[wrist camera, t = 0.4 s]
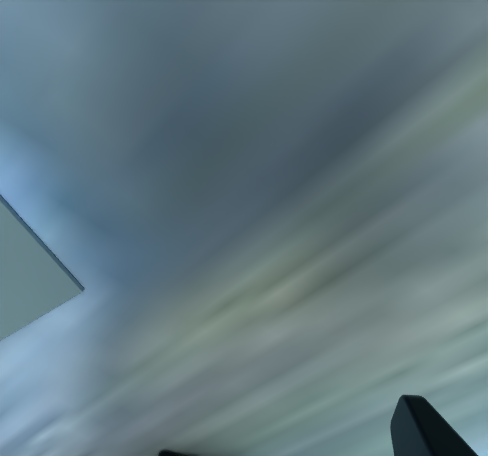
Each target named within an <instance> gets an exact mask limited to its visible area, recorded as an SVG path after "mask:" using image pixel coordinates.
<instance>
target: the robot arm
mask: <svg viewBox="0 0 488 456" xmlns="http://www.w3.org/2000/svg"><path fill="white" fill-rule="evenodd" d="M390 429H391V438H392V444H393V450H394V456H478V455H477V454H476V453H475V452H474V451H473V450H472V449H471V447H470V446H469V445H468V444H467V443H466V442H465V441H464V440H463V439H462V438H461V437H460V436H459V434H458V433H457V432H456V431H455V430H454V429H453V428H452V427H451V426H450V425H449V424H448V423H447V422H446V420H445V419H444V418H443V417H442V416H441V415H440V414H439V413H438V412H437V411H436V410H435V409H434V407H433V406H432V405H431V404H430V403H429V402H428V401H427V400H426V399H425V398H424V397H422V396H419V395H402V396H401V397H400V398H399V401H398V403H397V406H396V409H395V411H394V414H393V417H392V420H391V427H390ZM158 456H178V455H175V454H171V453H168V452H161V453H159V455H158Z"/></svg>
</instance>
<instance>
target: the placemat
mask: <svg viewBox="0 0 488 456" xmlns="http://www.w3.org/2000/svg"><path fill="white" fill-rule="evenodd" d="M83 290H84V288H83V287H82V286H81V285H80V283H79V282H78V281H77V280H76V279H75V278H74V277H73V276H72V275H71V273H70V272H69V271H68V270H67V269H66V268H65V267H64V266H63V265H62V263H61V262H60V261H59V260H58V259H57V258H56V257H55V256H54V255H53V253H52V252H51V251H50V250H49V249H48V248H47V247H46V246H45V245H44V243H43V242H42V241H41V240H40V239H39V238H38V237H37V236H36V235H35V234H34V232H33V231H32V230H31V229H30V228H29V227H28V226H27V225H26V224H25V222H24V221H23V220H22V219H21V218H20V217H19V216H18V215H17V214H16V212H15V211H14V210H13V209H12V208H11V207H10V206H9V205H8V204H7V202H6V201H5V200H4V199H3V198H2V197H1V196H0V341H1V340H3V339H4V338H6V337H8V336H9V335H11V334H13V333H14V332H16V331H18V330H19V329H21V328H23V327H24V326H26V325H28V324H29V323H31V322H33V321H34V320H36V319H38V318H39V317H41V316H43V315H44V314H46V313H48V312H50V311H51V310H53V309H55V308H56V307H58V306H60V305H61V304H63V303H65V302H66V301H68V300H70V299H71V298H73V297H75V296H76V295H78V294H80V293H81V292H83Z"/></svg>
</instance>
